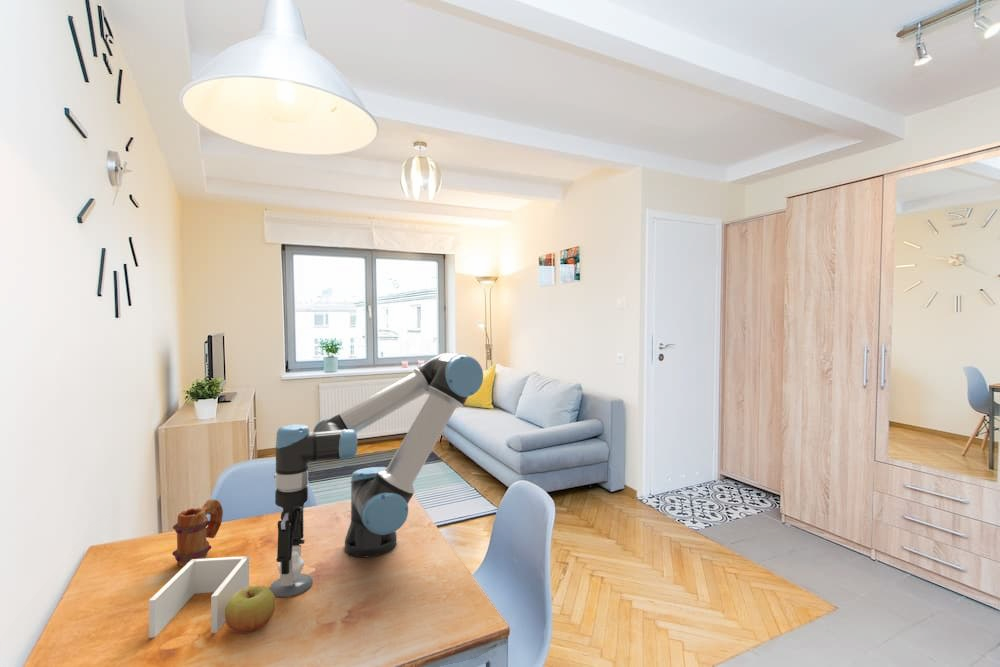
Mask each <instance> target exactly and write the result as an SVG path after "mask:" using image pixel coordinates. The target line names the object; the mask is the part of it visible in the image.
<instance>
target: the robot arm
mask: <svg viewBox="0 0 1000 667" xmlns="http://www.w3.org/2000/svg"><path fill="white" fill-rule="evenodd" d="M483 382H484V372H483V368H482V366H481V364H480V363H479V361H478V360H477V359H476V358H474V357H472V356H470V355H467V354H465V353H455V352H443V353H441V354H438V355H436V356H435V357H432V358H431V359H429V360H427V361H426V362H424V363H423V364H420V365H418V366H417V367H415V368H414V369H413V372H412V373H411V374H409V375H407V376H405V377H404V378H402V379H399V380H398V381H397V382H395V383H394V382H393V384H391V385H389V386H387V387H386V388H384V389H381V390H379V391H378V392H376V393H374V394H373V395H371V396H369V397H367V398H365V399H364V400H362V401H359V402H358V403H357V404H354V405H353V406H351V407H349V408H347V409H346V410H344V411H342V412H340V413H338V414H337V415H335V416H333V417H331V418H324V419H321V420H319V421H318V422H317V423H316V424H315V426H314V428H313V431H310V430H309V429H310V428H309V426H308V425H306V424H287V425H284V426H281V427H279V428H278V429H277V431H276V439H275V474H274V475H273V478H274V479H275V488H276V490H275V492H274V493H275V496H274V499H275V500H274V502H275V505H276V506H278V507H280V508H282V511H281V513H280V520H278V521H277V554H276V562H277V563H280V573H279V574H280V575H279V578H280V586H292V584H293V558H292V551H297V552H298V553H299V556H300V557H301V558H302V546H301V545H304V544H305V539H303V538H304V506H305V503H306V502H307V501H308V498H309V497H308V495H309V494H308V493H309V489H308V485H309V463H315V462H324V461H325V462H326V461H337V460H343V461H344V460H345V459H349V458H350V459H351V458H354V457H355V456H356V455H357V453H358V435H357V433H360V432H361V431H363V430H365V429H367V428H369V427H370V426H372V425H373V424H375V423H376V422H379V421H380V420H382V419H384V418H386V417H387V416H390V415H391V414H392V413H394V412H396V411H398V410H399V409H401V408H403V407H405V406H407V405H409V404H410V403H411V402H413V401H415V400H417V399H419V398H421V397H422V396H424V395H428V397H427V398H426V400H425V402H424V404H423V406H422V408H421V409H420V411H419V412H418V414H417V416H416V418H415V419H414V421H413V423H412V425H411V426H410V427H409V429H408V431H407V433H406V435H405V436H404V438H403V439H402V441H401V443H400V445H399V446H398V448H397V450H396V452H395V453H394V455H393V457H392V459H391V460H390V462H389V463H388V466H387V467H385V466H372V467H364V468H361V469H357V470H354V472H352V474H351V480H350V484H351V485H350V492H351V493H350V494H351V495H350V496H351V497H350V500H351V501H350V522H349V526H348V530H347V532H346V533H347V534H346V536H345V538H344V551H345V552H346V553H347V554H349V555H351V556H354V557H360V558H369V557H370V558H371V557H376V556H377V557H378V556H381V555H383V554H386V553H387V552H390V551H391V550H393V549H394V548H395V547H396V545H397V543H396V542H397V539H398V538H397V533H396V532H397V531H398V530H399V529H401V528H402V526H403V525H404V524H405V523H406V521H407V519H408V515H409V505H408V504H409V502H410V501H411V499H412V498H413V495H414V494H415V490H414V483H415V481H416V479H417V478H418V475H419V474H420V472H421V470H422V468H423V466H424V465H425V463H426V462H427V460H428V457H429V456H430V454H431V453H432V451H433V449H434V447H435V446H436V444H437V442H438V440H439V438H440V437H441V435H442V433H443V431H444V430H445V428H446V427H447V425H448V423H449V420H450V419H451V417H452V416H453V414H454V412H455V410H456V409H458V408H461V407H464V405H465V403H466V402H467V399H469V397H470V396H473V395H475V394H476V393H477V392H478V391H479V390H480V389H481V388H482V385H483Z"/></svg>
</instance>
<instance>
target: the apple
mask: <svg viewBox="0 0 1000 667" xmlns="http://www.w3.org/2000/svg"><path fill="white" fill-rule="evenodd" d="M269 588H270V587H267V586H265V585H251V586H250V585H249V587H247V588H244V589H242V590H240V591H238V592H237V593H236V594H234V595H233V596H232V597H231V599H230V600H229V602H228V604H227V606H226V608H225V619H226V621H225V623H226V625H227V626H228V628H230V629H231V630H232V631H233V632H235V633H239V634H247V633H252V632H256V631H257V630H259V629H261V628H263V627H264V626H265V625H266V624H268V623H269V621H270V619H271V618H272V617H273V616H274V613H275V611H276V597H275V595H274V594H273V592H272V591H271V590H270V589H269Z"/></svg>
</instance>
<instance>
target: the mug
mask: <svg viewBox="0 0 1000 667" xmlns="http://www.w3.org/2000/svg"><path fill="white" fill-rule="evenodd" d="M223 514H224V510H223V507H222V504H221V502H220V501H219V500H217V499H212V498H210V499H208V500H206V502H205V503H204V505H203V506H201V507H198V508H188V509H186V510H184V511H181V512H180V513H179V514H178V515H177V523H176V524H174V525H173V526H172V529H173V530H174V531H175V533H176V545H177V546H176V549H175V550H174V551H172V555H173V556H174V559H175V560H176V562H177V566H180V567H184V566H185V565H186V564H187V563H188V562H189V561H190V560H192V559H206V558H207V557H208V552H209V551H211V549H212V545H210V542H209V541H208V540H207V538H208V539H214V538H216V536H217V533H218V531H219V530H220V527H221V525H222V521H223ZM207 515H209V516H210V517H209V518H208V517H207Z"/></svg>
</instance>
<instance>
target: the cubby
mask: <svg viewBox="0 0 1000 667" xmlns="http://www.w3.org/2000/svg"><path fill="white" fill-rule="evenodd" d="M247 587H250V555H244V556H230V557H229V556H226V557H212V558H211V557H210V558H207V557H206V558H205V559H192V560H190V561H189V562H188V563H187V564H186V565H185V566H182V568H181V569H180V570H179V571H178V572H176V574H175V575H174V576H173V577H172V578H170V579H169V581H167V583H166V584H164V585H163V586H162V587H161V588H160V589H159V590H158V591H157V592H155V594H154V595H152V596H151V598H150V599H148V639H152V638H156V637H157V636H158V635H159V634H160V633H161V632H162V630H164V628H165V627H166V626H167V625H168V624H169V622H171V620H173V618H174V617H175V616H176V615H177V614H178V613H179V611H181V609H182V608H183V607H184V606H185V605H186V604H187V602H189V601H190V600H191V599H192V597H193V596H194V595H195V594H210V593H212V594H211V596H210V599H211V600H210V603H211V604H210V609H211V610H210V613H211V614H210V615H211V616H210V634H215V633H218V632H219V631H220V629H221V628H222V627H223V625H224V624H225V623H226V619H225V608H226V606H227V604H228V602H229V600H230V599H231V597H232V596H233V595H234V594H236V593H237V592H238V591H240V590H242V589H244V588H247Z"/></svg>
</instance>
